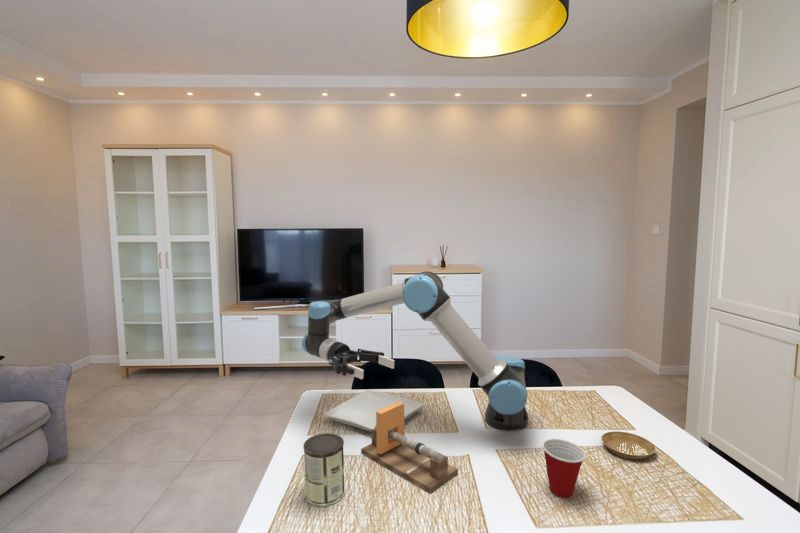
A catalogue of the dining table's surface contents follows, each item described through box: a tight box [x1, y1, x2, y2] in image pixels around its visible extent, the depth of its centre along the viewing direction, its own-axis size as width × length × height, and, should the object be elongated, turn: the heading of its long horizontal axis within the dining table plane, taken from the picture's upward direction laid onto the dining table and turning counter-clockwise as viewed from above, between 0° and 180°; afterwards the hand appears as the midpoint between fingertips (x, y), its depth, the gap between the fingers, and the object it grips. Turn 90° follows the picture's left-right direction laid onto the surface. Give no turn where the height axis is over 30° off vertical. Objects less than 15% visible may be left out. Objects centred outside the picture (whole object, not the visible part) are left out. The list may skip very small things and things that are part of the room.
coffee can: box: [303, 432, 346, 507], centre depth 109 cm, size 10×10×14 cm
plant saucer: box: [601, 430, 656, 461], centre depth 130 cm, size 15×15×3 cm
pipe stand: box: [360, 426, 459, 494], centre depth 123 cm, size 28×12×8 cm, turn 46°
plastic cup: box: [541, 438, 587, 499], centre depth 109 cm, size 11×11×12 cm
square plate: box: [324, 389, 425, 433], centre depth 154 cm, size 27×27×4 cm
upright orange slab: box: [376, 402, 405, 454], centre depth 127 cm, size 2×10×12 cm, turn 135°
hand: (378, 369), depth 129 cm, fingers open, 13 cm apart
